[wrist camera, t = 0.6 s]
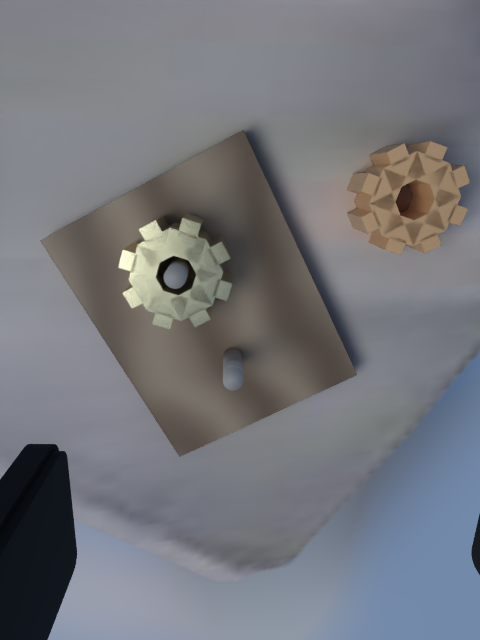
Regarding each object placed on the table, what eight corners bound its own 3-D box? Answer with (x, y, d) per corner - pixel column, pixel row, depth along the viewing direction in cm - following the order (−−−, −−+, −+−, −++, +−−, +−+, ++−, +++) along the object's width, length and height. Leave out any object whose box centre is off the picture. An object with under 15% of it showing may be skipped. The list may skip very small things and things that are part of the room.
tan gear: (425, 126, 31) (449, 120, 28) (457, 219, 34) (483, 224, 30) (331, 174, 32) (343, 174, 29) (368, 263, 34) (384, 272, 31)
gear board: (242, 132, 31) (246, 122, 26) (352, 367, 37) (375, 401, 31) (48, 238, 33) (10, 250, 27) (181, 446, 39) (173, 493, 33)
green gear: (201, 194, 31) (198, 197, 27) (248, 286, 33) (251, 299, 29) (111, 243, 32) (97, 251, 28) (162, 329, 34) (155, 346, 30)
